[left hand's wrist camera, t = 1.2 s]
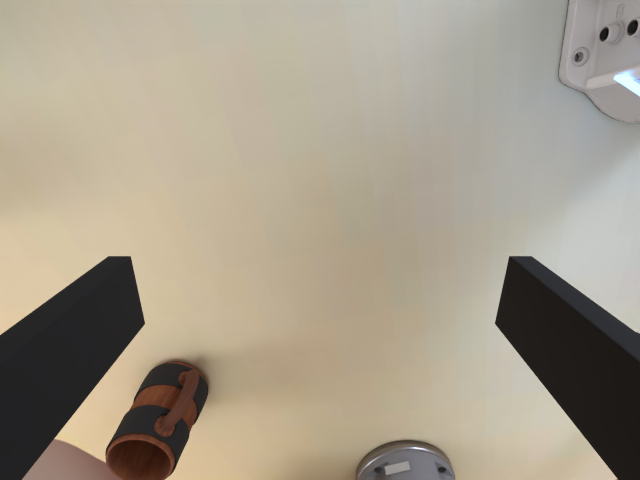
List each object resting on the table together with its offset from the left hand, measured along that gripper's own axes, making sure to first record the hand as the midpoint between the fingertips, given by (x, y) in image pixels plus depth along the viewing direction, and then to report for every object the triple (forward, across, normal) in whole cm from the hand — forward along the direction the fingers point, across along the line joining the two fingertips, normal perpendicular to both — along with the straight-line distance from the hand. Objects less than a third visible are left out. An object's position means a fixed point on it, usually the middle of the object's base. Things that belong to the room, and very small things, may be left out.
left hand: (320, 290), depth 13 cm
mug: (+28, +19, +29) cm, 45 cm away
